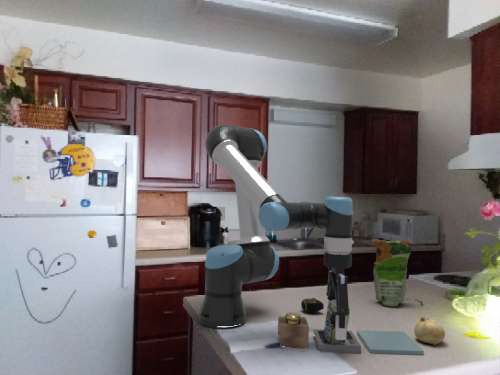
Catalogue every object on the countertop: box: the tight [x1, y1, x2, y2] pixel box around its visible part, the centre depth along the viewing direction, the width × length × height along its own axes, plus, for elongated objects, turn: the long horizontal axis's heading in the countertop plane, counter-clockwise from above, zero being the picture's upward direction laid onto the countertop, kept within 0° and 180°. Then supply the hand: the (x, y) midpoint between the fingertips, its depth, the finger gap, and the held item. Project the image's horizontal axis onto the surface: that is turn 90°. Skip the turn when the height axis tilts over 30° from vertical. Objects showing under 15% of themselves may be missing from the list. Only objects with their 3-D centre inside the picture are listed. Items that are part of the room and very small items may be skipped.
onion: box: [413, 316, 446, 346], centre depth 111 cm, size 8×8×7 cm
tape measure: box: [300, 297, 325, 313], centre depth 135 cm, size 7×7×4 cm
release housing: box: [277, 315, 310, 349], centre depth 108 cm, size 8×8×6 cm
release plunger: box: [284, 312, 302, 324], centre depth 108 cm, size 4×4×7 cm
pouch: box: [372, 238, 412, 307], centre depth 148 cm, size 11×12×25 cm
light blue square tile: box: [356, 329, 425, 356], centre depth 109 cm, size 14×14×1 cm
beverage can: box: [322, 300, 351, 344], centre depth 107 cm, size 6×7×12 cm
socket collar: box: [312, 329, 362, 354], centre depth 107 cm, size 11×11×2 cm
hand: (336, 331), depth 107 cm, fingers open, 11 cm apart
